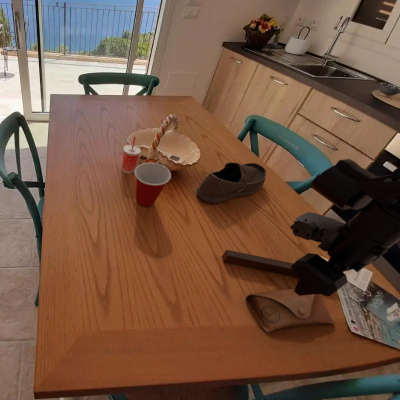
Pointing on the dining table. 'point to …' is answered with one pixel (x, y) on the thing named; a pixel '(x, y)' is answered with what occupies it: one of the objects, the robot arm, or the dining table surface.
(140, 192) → the plastic cup
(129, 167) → the beverage cup
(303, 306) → the sunglasses case
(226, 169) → the loafer
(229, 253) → the rail
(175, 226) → the dining table surface
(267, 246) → the dining table surface
